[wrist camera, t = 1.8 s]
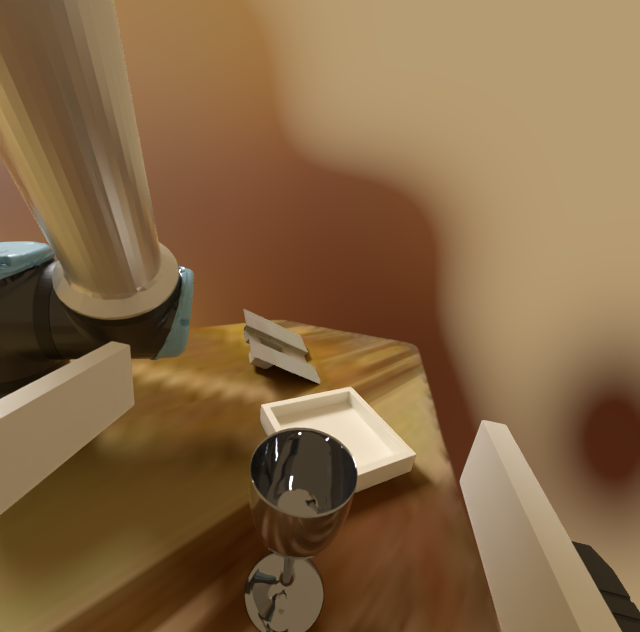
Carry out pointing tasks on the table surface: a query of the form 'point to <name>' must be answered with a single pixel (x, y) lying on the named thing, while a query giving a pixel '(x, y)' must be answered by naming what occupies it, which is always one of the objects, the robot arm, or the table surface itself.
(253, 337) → the grey display stand
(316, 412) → the tray
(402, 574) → the table surface
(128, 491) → the table surface
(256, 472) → the silver metal goblet
